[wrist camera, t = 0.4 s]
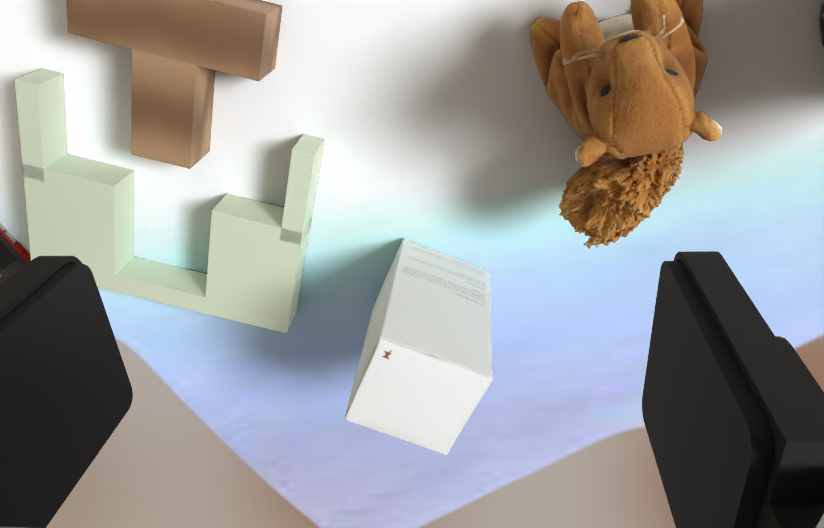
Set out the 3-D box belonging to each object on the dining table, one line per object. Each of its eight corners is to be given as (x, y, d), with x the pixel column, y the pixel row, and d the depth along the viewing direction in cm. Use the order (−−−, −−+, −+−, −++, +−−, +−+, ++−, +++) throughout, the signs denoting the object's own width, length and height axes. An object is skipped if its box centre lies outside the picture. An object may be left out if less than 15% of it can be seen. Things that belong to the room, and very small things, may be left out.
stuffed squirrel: (699, -46, 37) (791, -19, 26) (697, 180, 44) (770, 280, 33) (524, -11, 39) (538, 29, 28) (548, 201, 46) (567, 303, 35)
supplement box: (370, 309, 52) (338, 420, 41) (403, 234, 48) (378, 334, 37) (455, 342, 53) (446, 460, 42) (494, 270, 49) (495, 378, 38)
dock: (41, 68, 45) (14, 79, 42) (324, 139, 45) (314, 154, 43) (54, 252, 52) (31, 271, 50) (296, 311, 53) (286, 333, 50)
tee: (96, -42, 41) (65, -37, 38) (282, 5, 41) (265, 14, 38) (99, 123, 46) (72, 139, 43) (263, 164, 47) (248, 183, 44)
